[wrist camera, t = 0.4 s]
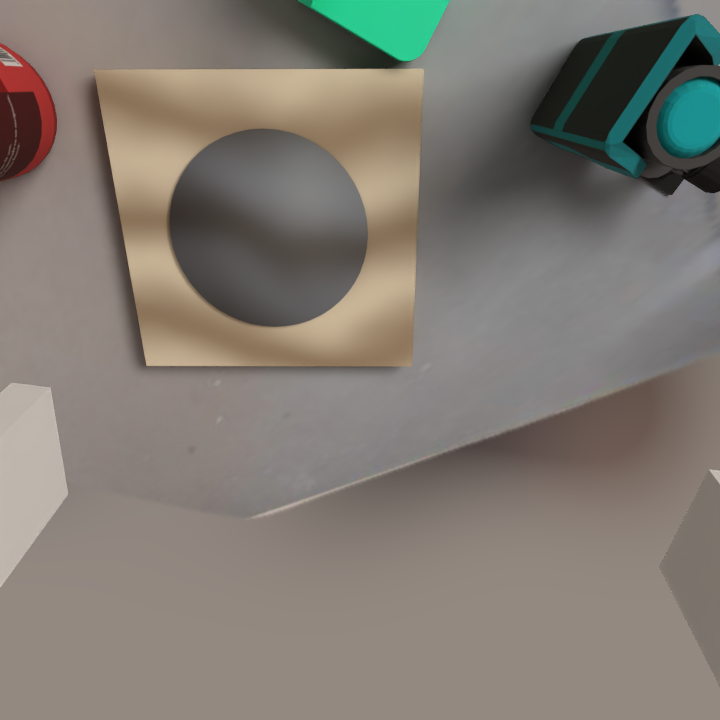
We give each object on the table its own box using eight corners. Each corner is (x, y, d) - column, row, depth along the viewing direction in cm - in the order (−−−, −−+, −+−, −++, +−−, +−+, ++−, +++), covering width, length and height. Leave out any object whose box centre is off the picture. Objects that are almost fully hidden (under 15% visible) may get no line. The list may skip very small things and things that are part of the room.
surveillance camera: (782, 263, 25) (598, 149, 24) (658, 209, 36) (525, 128, 34) (888, 142, 23) (694, 5, 21) (722, 123, 34) (584, 31, 32)
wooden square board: (105, 70, 33) (91, 69, 32) (421, 69, 33) (424, 68, 31) (153, 356, 41) (144, 367, 39) (410, 356, 41) (412, 368, 39)
